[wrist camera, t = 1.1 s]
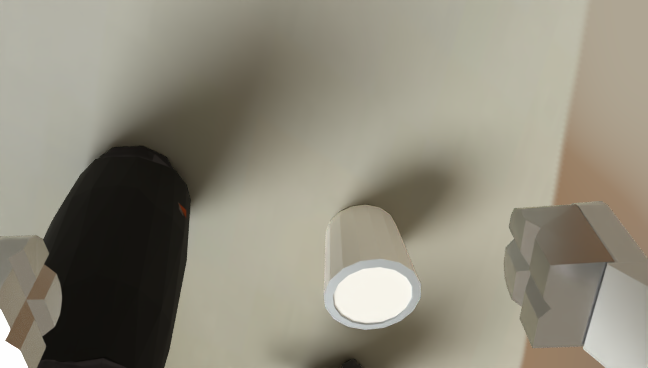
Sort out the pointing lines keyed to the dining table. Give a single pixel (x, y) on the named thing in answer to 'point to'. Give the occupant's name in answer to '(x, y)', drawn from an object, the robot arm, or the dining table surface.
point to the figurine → (351, 364)
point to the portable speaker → (118, 262)
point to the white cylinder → (368, 270)
